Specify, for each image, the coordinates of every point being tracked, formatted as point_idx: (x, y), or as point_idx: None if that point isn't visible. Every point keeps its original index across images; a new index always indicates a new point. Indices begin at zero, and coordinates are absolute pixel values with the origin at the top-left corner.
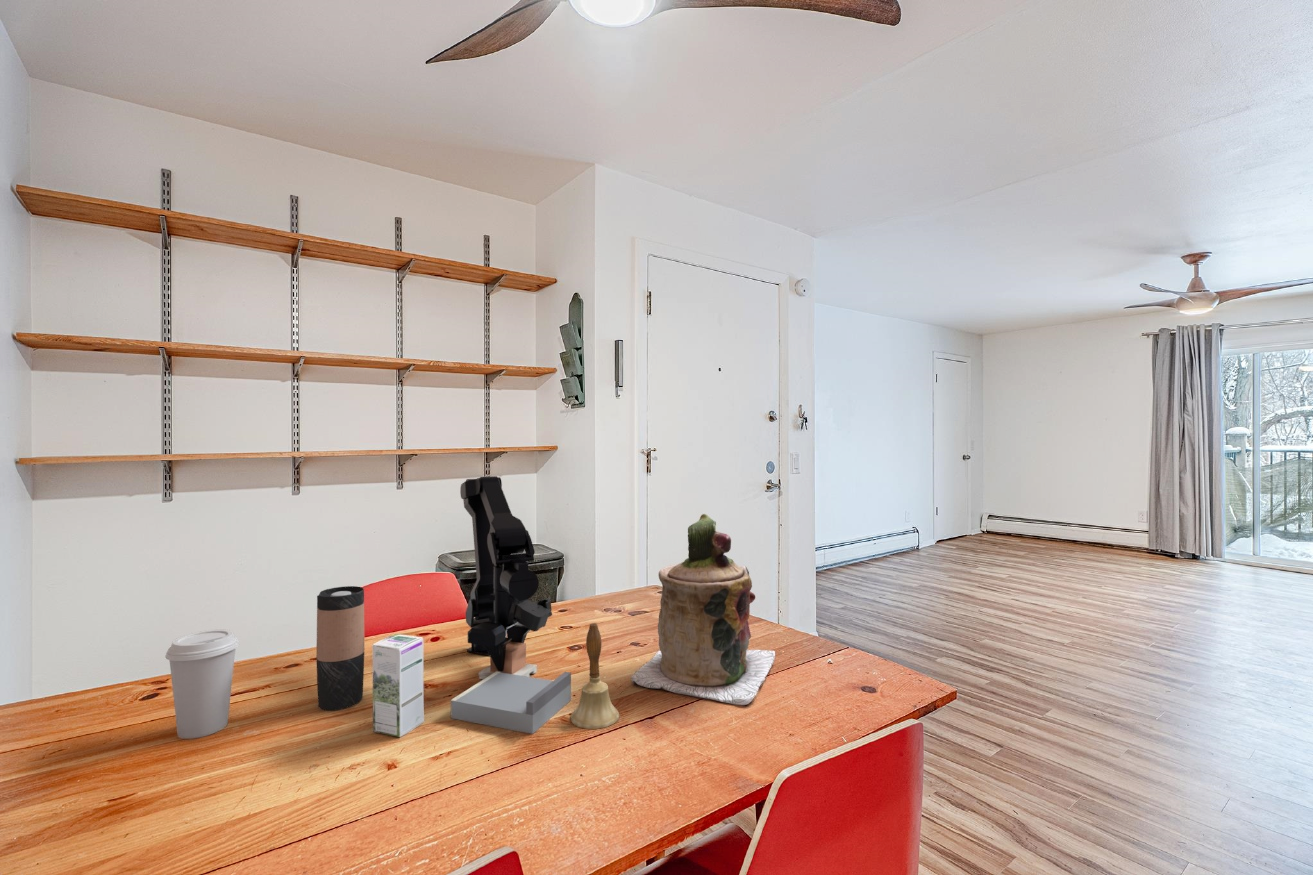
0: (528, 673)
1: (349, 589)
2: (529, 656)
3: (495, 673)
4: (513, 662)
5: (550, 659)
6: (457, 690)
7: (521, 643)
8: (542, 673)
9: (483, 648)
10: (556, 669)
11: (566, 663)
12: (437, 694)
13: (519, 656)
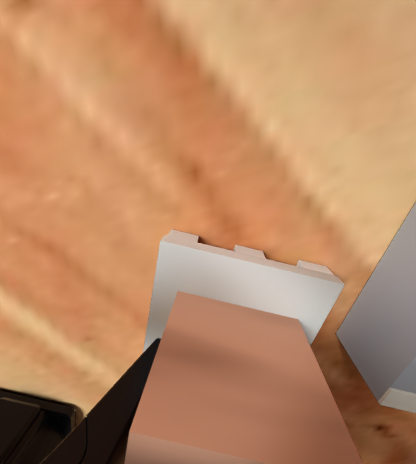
0: (245, 254)
1: None
2: (24, 301)
3: (412, 402)
4: (305, 370)
5: (13, 210)
6: (345, 420)
7: (140, 457)
8: (177, 198)
9: (56, 444)
10: (114, 139)
11: (21, 105)
12: (367, 450)
13: (238, 368)
